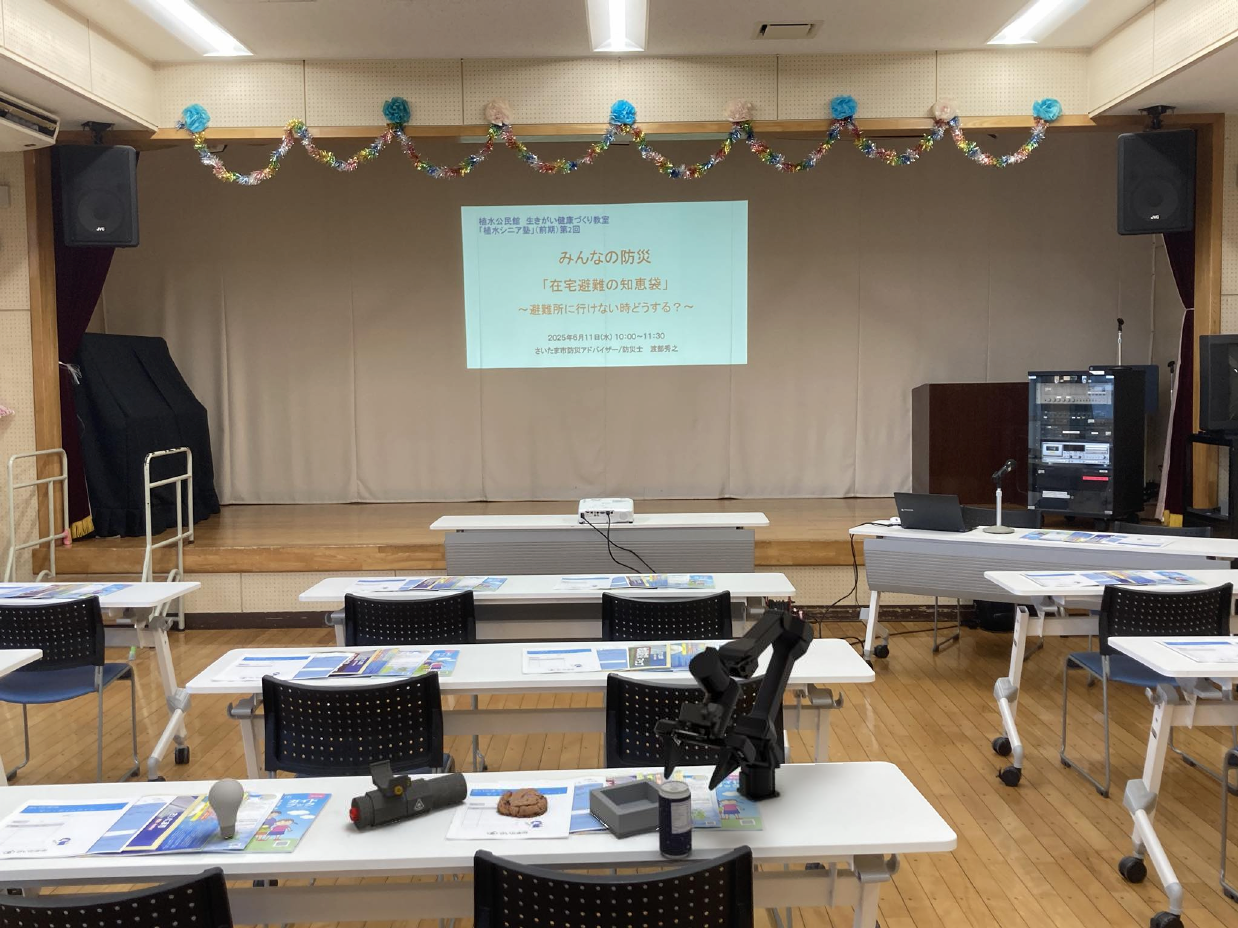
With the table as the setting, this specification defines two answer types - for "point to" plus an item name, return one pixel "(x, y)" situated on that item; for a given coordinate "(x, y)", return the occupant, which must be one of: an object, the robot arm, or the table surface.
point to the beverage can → (675, 819)
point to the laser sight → (403, 796)
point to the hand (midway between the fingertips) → (687, 783)
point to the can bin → (627, 807)
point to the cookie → (522, 803)
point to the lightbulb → (226, 803)
